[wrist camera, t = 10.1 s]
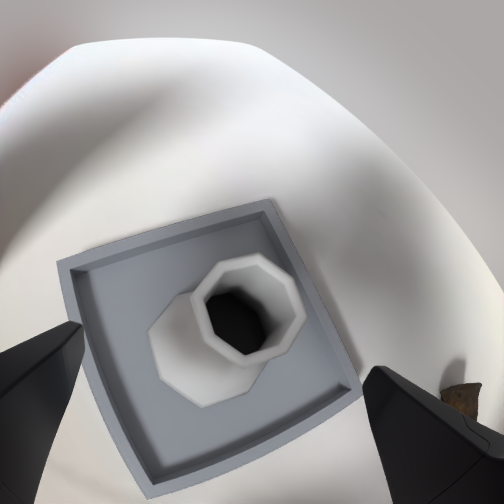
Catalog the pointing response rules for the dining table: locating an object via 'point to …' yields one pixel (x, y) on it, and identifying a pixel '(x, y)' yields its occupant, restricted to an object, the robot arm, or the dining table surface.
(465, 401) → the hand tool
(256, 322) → the flask
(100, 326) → the parts tray
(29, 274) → the dining table surface
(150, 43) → the dining table surface
